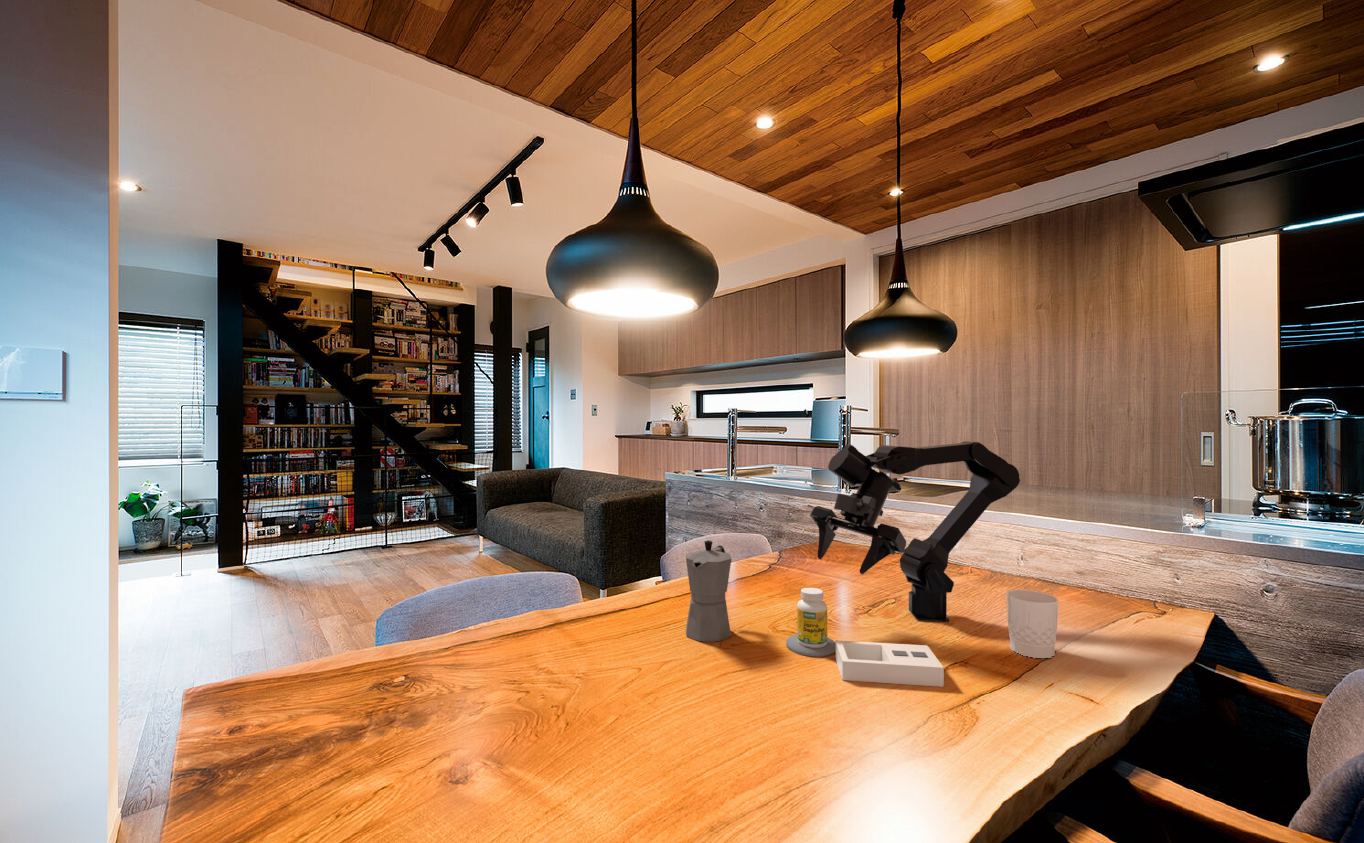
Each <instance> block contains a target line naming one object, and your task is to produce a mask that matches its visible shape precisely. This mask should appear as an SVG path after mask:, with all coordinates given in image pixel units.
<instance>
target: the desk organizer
mask: <svg viewBox="0 0 1364 843" xmlns="http://www.w3.org/2000/svg"><path fill="white" fill-rule="evenodd" d="M834 642H835V653H834V654H835V656H834V657H835V661H836V664H837V667H838V670H839V673H840V676H841V680H842V681H847V682H848V681H849V682H850V681H851V682H865V683H879V684H896V685H909V686H912V685H913V686H925V687H926V686H927V687H939V688H940V687H941V688H944V686H945V684H944V682H945V681H944V678H945V677H944V673H945V672H944V671H945V668H944V666H943V665H942V663H941V662H940V661H939V659H938V657H937V656H936V655H935V654H934V653H933V651H932V650H931V648H930V647H929V646H928V645H925V644H923V645H922V644H906V643H891V642H890V643H889V642H871V641H854V640H853V641H852V640H838V639H837V640H836V639H835V641H834Z"/></svg>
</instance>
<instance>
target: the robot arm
mask: <svg viewBox="0 0 1364 843" xmlns="http://www.w3.org/2000/svg"><path fill="white" fill-rule="evenodd" d="M958 462H959V463H960V462H963V463H964V465H965V467H966V469H967V470H968V471H969V472H970V473H971V474H972V475H971V477H970V481H969V489H968V491H967V492H966V493H965V494H964V495H963V497H962V498H961V499H960V500H959V501H958V502H957V503H956V505H955V506H954V507H953V509H951V511H950V512H949V513H948V515H947V516H946V517H945V518H944V519H943V520H942V521H941V522H940V524H938V526H937V527H936V528H935V529H934V531H933V532H932V533H931V534H930V535H929V537H927V538H925V539H923V540H921V539H918V538H912V540H911V541H910V543H909V544H908V545H907V540H906V538H905V536H904V535H903V533H902V532H901V530H900V528H899V527H896V526H893V525H889V524H886V523H880V524H878V525H877V527H875V525H876V523H877V520H878V518H879V517H883V514H884V511H883V506H884V504H885V502H886V500H887V498H888V495H889V494H890V493H891V492H901V491H902V487H901V484H900V483H899V481H898V480H899V479H898V478H897V477H894V478H892V477H890V476H889V475H887V474H888V473H889V474H892V475H893V474H894V475H905V474H907V473H911V472H914V471H917V470H919V469H920V468H922V467H925V466H931V465H932V466H934V465H942V464H949V463H958ZM827 468H828V470H829V471H830V472H831V473H833V474H834V475H835V476H836V477H838V478H840V479H841V480H842V481H844V482H845V483H846V484H847V485H849V486H851V487H853V486H856V485H857V486H858V485H859V487H858V488H857V491H856V492H851V494H850V495H845V494H842V493H838V492H837V496H836V499H835V503H834V507H833V509H834V510H839V511H840V512H839V514H840V515H841V516H843V517H844V518H843V517H838V516H837V514H835V512H834V511H833V509H830V508H827V507H824V506H821V505H820V506H819V505H816V506H815V507H813V508H812V510H811V512H810V514H809V517H810V518H811V519H812V520H813V522H814V524H815V525H816V526H817V527H818V546H817V547H818V548H817V559H819V560H822V559H823V558H824V557H825V555H826V553H827V552H828V549H829V548H830V546H831V545H832V542H833V541H834V539H835V537H836V536H837V535H836V533H835V531H837V530H838V529H839V528H840V529H843V530H847V531H850V532H854V533H858V534H860V535H864V536H867V537H870V538H871V543H870V547H869V549H868V551H867V552H866V555H865V556H864V559H863V560H862V563H861V565H860V568H859V573H860V575H864V574H865V573H867V572H868V571H869V570H870V569H871V568H873V567H874V566H875V565H876V564H877V563H879V562H880V561H882V560H884V559H885V558H886V557H888V556H889V555H895V554H896V553H900V554H901V557H900V558H899V564H900V565H899V566H900V570H901V572H902V573H903V575H905V578H906V581H907V583H910V584H911V591H909V592H908V611H909V612H910V613H911V614H912V616H913V617H914V618H915V620H916V621H926V622H944V623H945V622H946V623H947V622H948V623H949V622H950V618H949V617H948V615H947V613H948V611H947V609H948V608H947V605H948V604H947V599H948V597H947V594H948V593H952V591H953V588H954V585H955V582H954V581H953V580H952V579H951V578H950V576H948V574H947V573H945V571H946V570H947V569H948V568H947V567H948V563H949V557H950V556H949V555H950V553H951V551H952V550H954V548H955V547H956V546H957V544H958V543H959V542H960V541H961V540H962V538H963V537H964V536H965V535H966V533H967V532H968V531H969V530H970V529H971V528H972V527H973V525H974V524H975V523H976V521H978V519H979V518H980V517H981V516H982V514H983V513H984V512H985V511H986V510H987V508H988V507H989V506H990V505H991V504H993V503H994V502H996V501H999V500H1002V499H1004V498H1005V497H1007V496H1008V495H1009V494H1011V493H1012V492H1013V491H1014V490H1016V488H1018V486H1019V484H1020V482H1021V478H1020V473H1019V469H1018V468H1017V467H1016V466H1015V465H1014V464H1011V463H1009V462H1008V461H1007V460H1005V459H1004V458H1002V457H1001V456H999V455H997V454H996V453H994V452H992V451H991V450H989V448H987V446H985V445H984V444H982V443H981V442H980V441H979V442H978V441H968V440H967V441H961V442H958V443H957V442H956V443H948V444H939V445H938V444H937V445H930V446H927V445H926V446H918V447H912V446H910V447H909V446H902V445H901V446H900V445H889V444H888V445H886V444H883V445H881V446H879V447H877V449H876V450H875V452H873V453H870V454H868V455H865V454H863V453H861V452H860V451H859V450H858V449H857V448H856V446H854V445H852V444H846V445H845V446H844V447H843V448H842V449H840V450H839V451H838V452H837V453H835V455H833V456H832V457H831V458H830V460H829V463H828V467H827ZM875 469H877V470H878V471H877V470H875ZM886 473H887V474H886ZM906 546H907V547H906Z"/></svg>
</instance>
